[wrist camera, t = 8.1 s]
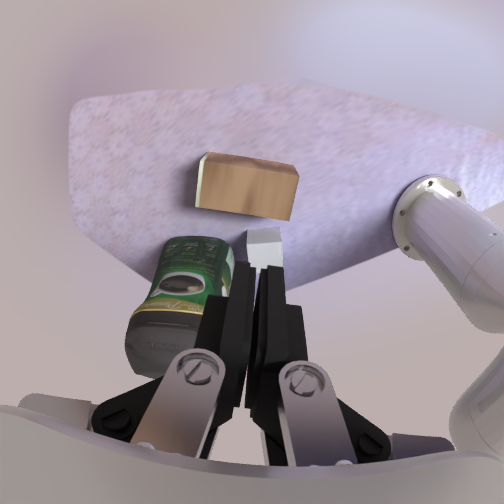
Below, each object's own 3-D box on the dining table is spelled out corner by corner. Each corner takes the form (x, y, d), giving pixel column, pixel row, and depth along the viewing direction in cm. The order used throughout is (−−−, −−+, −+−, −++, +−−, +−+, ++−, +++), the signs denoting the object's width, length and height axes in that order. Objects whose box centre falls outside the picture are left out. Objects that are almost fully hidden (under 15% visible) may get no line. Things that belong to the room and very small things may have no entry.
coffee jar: (168, 282, 42) (129, 388, 26) (162, 232, 38) (106, 332, 22) (236, 285, 42) (225, 398, 26) (236, 234, 38) (222, 343, 22)
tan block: (207, 151, 33) (293, 165, 34) (202, 192, 36) (285, 204, 36) (200, 160, 29) (299, 176, 29) (195, 206, 31) (289, 221, 32)
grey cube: (279, 226, 38) (281, 241, 34) (280, 254, 40) (283, 271, 36) (247, 229, 38) (246, 244, 35) (250, 256, 40) (249, 273, 36)
